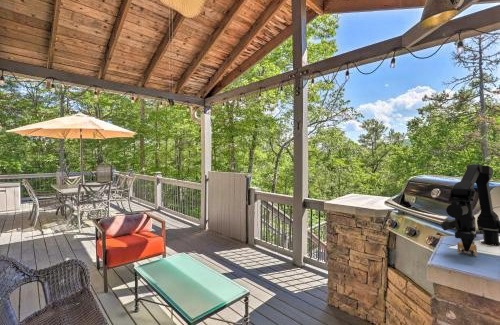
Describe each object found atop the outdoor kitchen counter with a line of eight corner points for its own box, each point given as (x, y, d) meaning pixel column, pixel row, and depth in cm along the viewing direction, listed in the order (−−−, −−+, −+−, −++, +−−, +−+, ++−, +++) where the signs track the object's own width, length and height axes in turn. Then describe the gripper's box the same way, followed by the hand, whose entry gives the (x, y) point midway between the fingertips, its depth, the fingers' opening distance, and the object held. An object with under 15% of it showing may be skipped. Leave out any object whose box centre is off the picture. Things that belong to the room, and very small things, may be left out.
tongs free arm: (466, 252, 120) (466, 248, 120) (461, 251, 121) (460, 247, 121) (465, 244, 132) (465, 240, 132) (460, 243, 133) (460, 240, 133)
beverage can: (475, 235, 147) (473, 213, 148) (477, 238, 142) (476, 215, 142) (460, 234, 151) (458, 213, 151) (461, 237, 145) (460, 215, 146)
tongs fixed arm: (473, 256, 115) (473, 251, 115) (461, 254, 118) (461, 249, 118) (474, 245, 130) (474, 241, 130) (463, 244, 133) (463, 239, 133)
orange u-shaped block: (476, 256, 114) (476, 246, 115) (458, 253, 119) (457, 244, 119) (476, 254, 117) (476, 244, 117) (458, 251, 121) (457, 242, 121)
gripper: (443, 210, 127) (445, 243, 126) (438, 216, 113) (441, 253, 112) (474, 211, 120) (476, 246, 119) (472, 219, 106) (475, 258, 105)
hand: (466, 251), depth 114 cm, fingers closed
